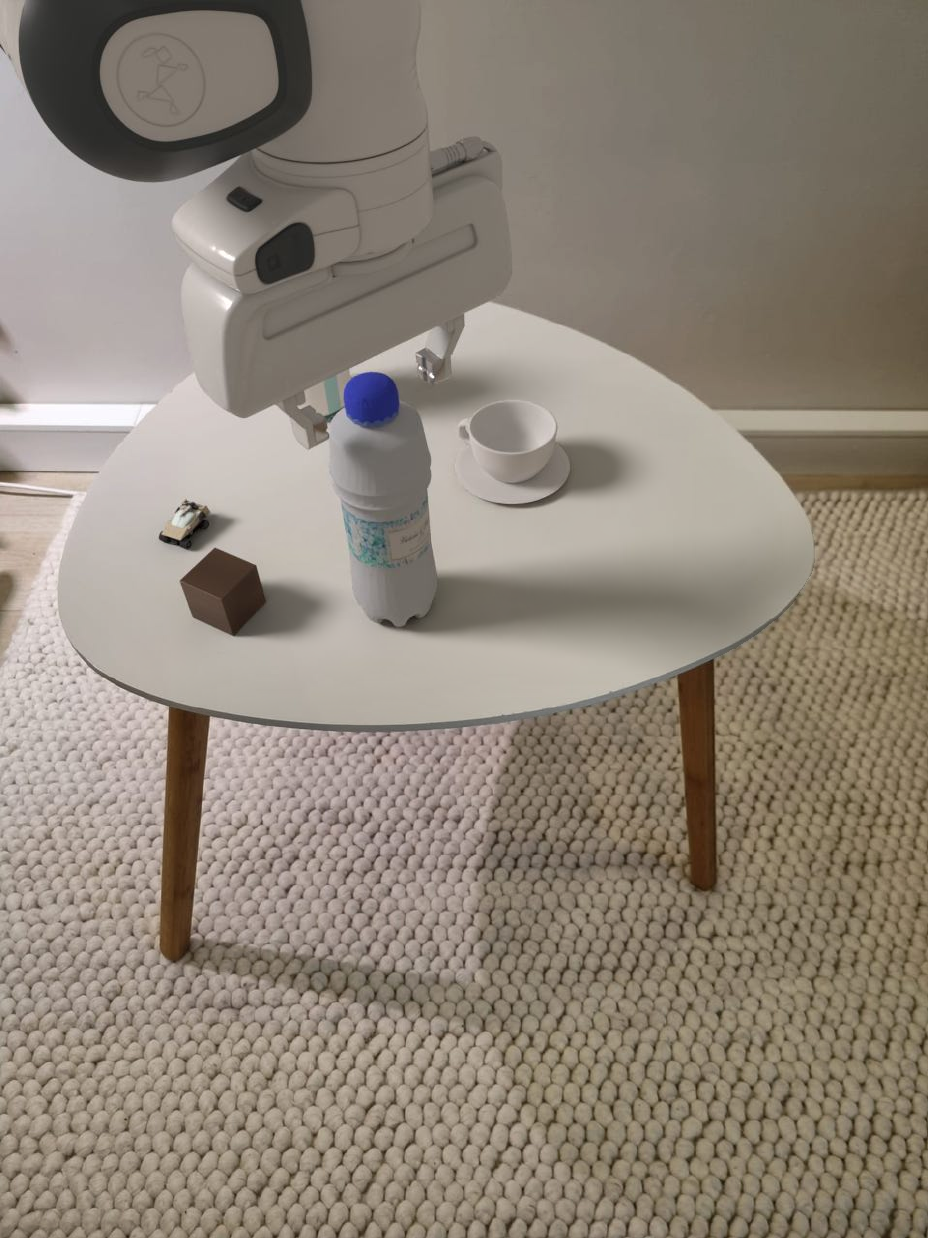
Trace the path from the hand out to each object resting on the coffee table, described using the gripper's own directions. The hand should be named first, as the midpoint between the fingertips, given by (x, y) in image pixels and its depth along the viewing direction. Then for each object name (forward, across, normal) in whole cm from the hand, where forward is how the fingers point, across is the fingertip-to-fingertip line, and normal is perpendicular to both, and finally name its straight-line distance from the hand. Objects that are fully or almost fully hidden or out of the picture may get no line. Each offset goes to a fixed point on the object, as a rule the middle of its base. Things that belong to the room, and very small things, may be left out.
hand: (375, 408), depth 59 cm
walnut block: (+18, +10, -8) cm, 22 cm away
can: (+18, -10, -26) cm, 33 cm away
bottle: (+18, 0, 0) cm, 18 cm away
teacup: (+18, -17, -6) cm, 25 cm away
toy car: (+18, +8, -18) cm, 27 cm away
